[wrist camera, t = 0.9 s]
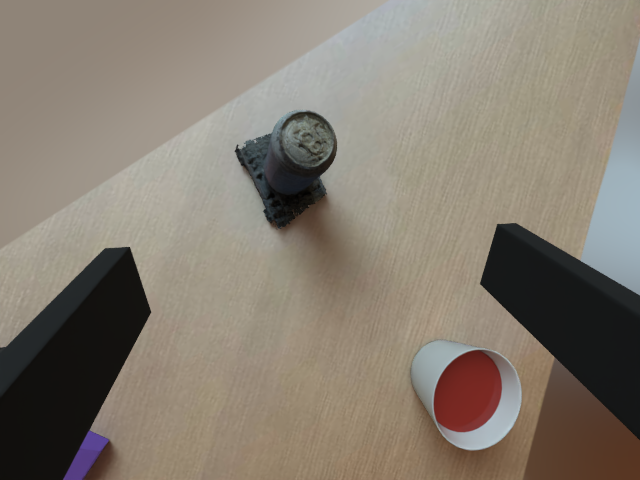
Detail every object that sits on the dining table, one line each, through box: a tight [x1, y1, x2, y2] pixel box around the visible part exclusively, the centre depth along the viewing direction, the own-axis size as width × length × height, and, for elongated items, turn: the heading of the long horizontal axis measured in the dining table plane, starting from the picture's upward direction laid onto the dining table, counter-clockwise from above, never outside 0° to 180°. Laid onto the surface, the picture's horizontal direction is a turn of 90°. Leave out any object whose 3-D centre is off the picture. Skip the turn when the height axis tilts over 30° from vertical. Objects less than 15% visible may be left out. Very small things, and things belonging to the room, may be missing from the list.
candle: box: [411, 340, 522, 450], centre depth 30 cm, size 9×9×6 cm
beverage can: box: [235, 110, 337, 229], centre depth 25 cm, size 9×8×12 cm
